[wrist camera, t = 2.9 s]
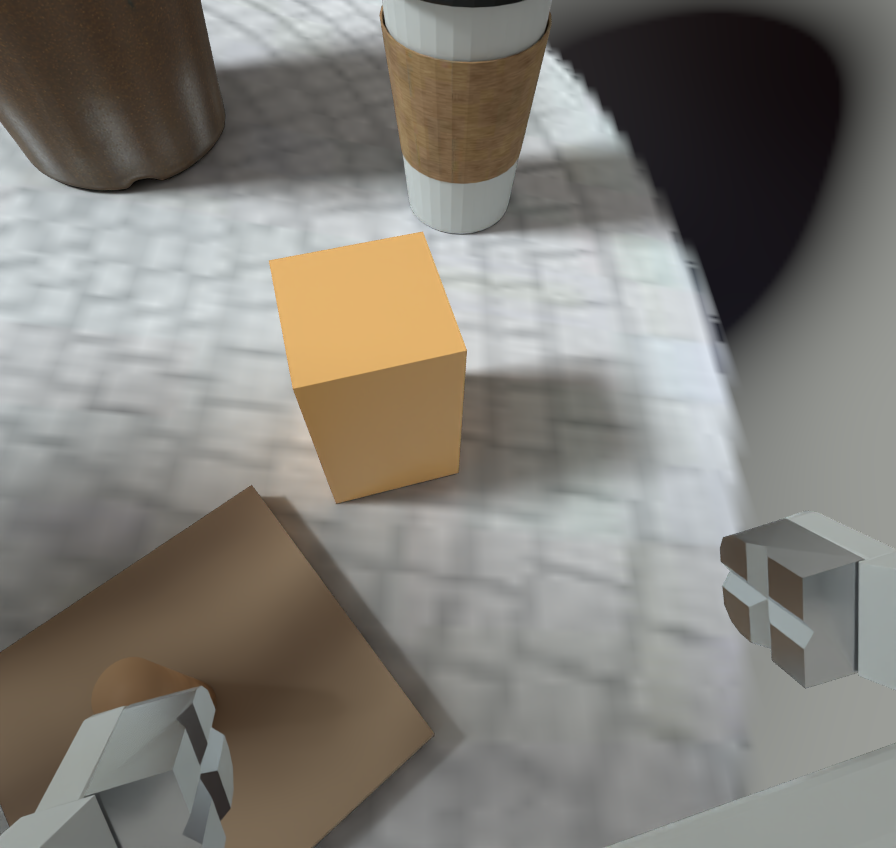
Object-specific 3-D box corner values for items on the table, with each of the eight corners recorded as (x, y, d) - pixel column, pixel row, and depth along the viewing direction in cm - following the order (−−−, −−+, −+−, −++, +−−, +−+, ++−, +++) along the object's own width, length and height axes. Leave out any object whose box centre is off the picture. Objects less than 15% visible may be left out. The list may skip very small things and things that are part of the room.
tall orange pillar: (336, 503, 26) (292, 388, 18) (314, 399, 29) (269, 260, 21) (458, 472, 27) (466, 350, 19) (426, 374, 30) (422, 231, 22)
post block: (-26, 688, 22) (-173, 661, 17) (259, 496, 26) (213, 424, 21) (117, 1029, 18) (-23, 1140, 12) (434, 735, 22) (433, 722, 16)
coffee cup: (388, 154, 38) (362, -170, 25) (522, 153, 38) (567, -168, 25) (386, 251, 34) (354, -77, 21) (537, 249, 34) (599, -76, 21)
